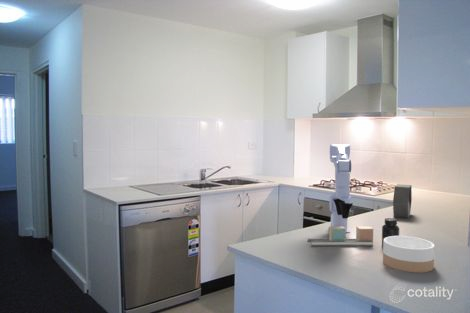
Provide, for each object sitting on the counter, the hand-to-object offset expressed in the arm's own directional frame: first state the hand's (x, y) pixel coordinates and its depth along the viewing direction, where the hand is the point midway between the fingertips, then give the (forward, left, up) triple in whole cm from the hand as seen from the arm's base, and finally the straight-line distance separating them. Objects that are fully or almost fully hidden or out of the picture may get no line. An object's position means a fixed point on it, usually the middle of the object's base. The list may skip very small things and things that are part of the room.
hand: (342, 216), depth 170 cm
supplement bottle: (+12, +17, -11) cm, 23 cm away
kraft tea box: (+6, -4, -11) cm, 13 cm away
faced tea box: (+6, +8, -11) cm, 15 cm away
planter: (-47, +49, -11) cm, 69 cm away
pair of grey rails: (+6, -3, -10) cm, 13 cm away
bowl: (+32, +15, -11) cm, 37 cm away
